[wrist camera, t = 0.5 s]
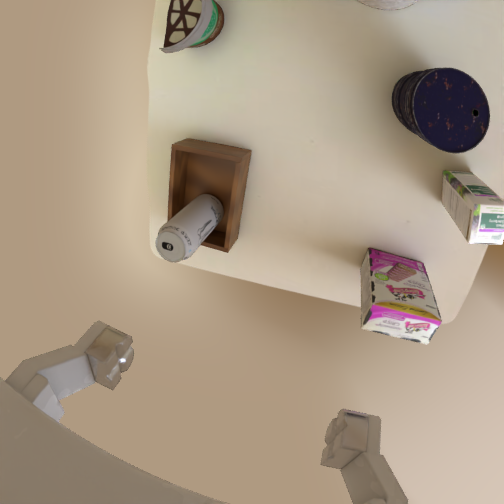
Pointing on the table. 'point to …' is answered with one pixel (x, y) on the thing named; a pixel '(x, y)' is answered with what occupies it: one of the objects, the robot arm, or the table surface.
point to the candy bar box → (397, 297)
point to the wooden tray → (210, 184)
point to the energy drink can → (189, 228)
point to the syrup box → (473, 207)
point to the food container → (192, 24)
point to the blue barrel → (442, 108)
